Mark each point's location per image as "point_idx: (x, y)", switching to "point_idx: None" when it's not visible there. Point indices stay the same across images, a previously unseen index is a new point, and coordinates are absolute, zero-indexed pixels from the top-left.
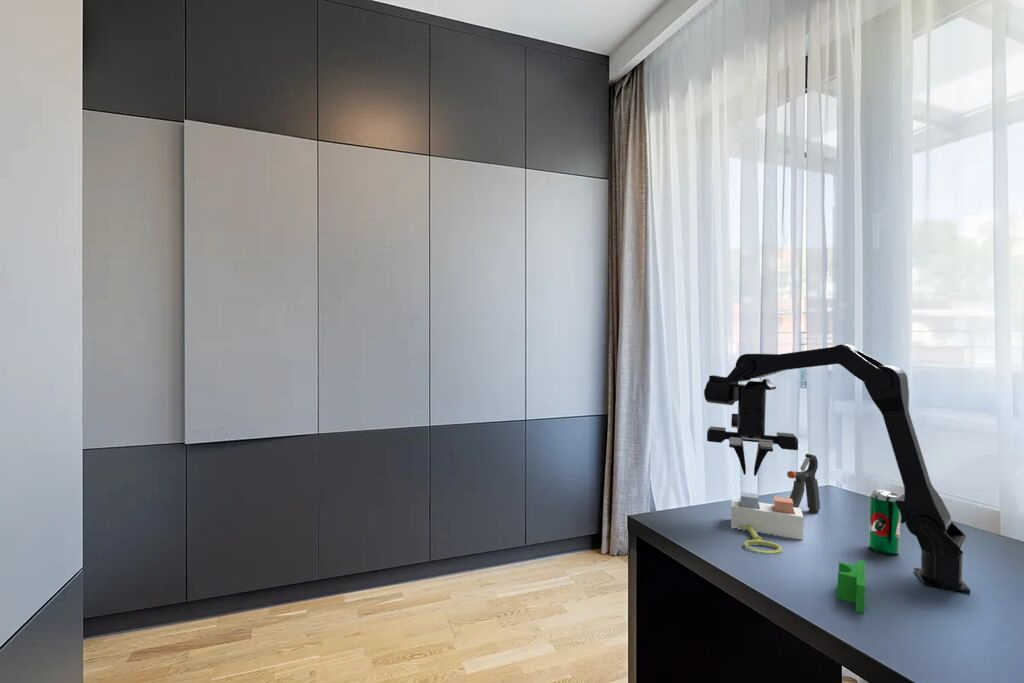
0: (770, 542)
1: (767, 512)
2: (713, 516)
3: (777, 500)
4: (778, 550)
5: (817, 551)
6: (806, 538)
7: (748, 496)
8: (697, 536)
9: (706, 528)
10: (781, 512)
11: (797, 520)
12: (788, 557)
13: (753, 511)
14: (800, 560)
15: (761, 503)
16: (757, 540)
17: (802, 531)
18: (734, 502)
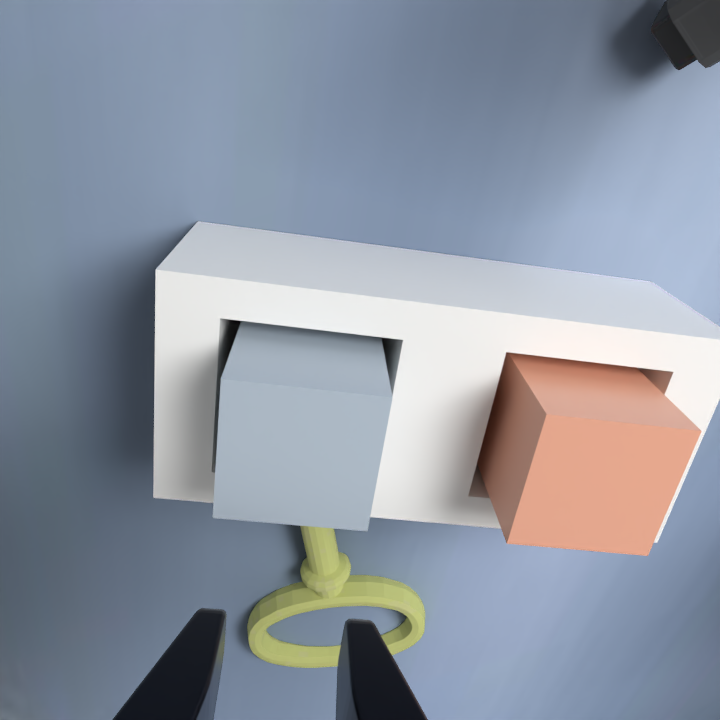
0: (381, 605)
1: (421, 516)
2: (60, 200)
3: (532, 529)
4: (402, 645)
5: (601, 564)
6: None
7: (285, 505)
8: (12, 582)
9: (42, 458)
10: None
11: None
12: (434, 661)
13: None
14: (477, 671)
15: (424, 329)
16: (318, 606)
17: None
18: (179, 387)
